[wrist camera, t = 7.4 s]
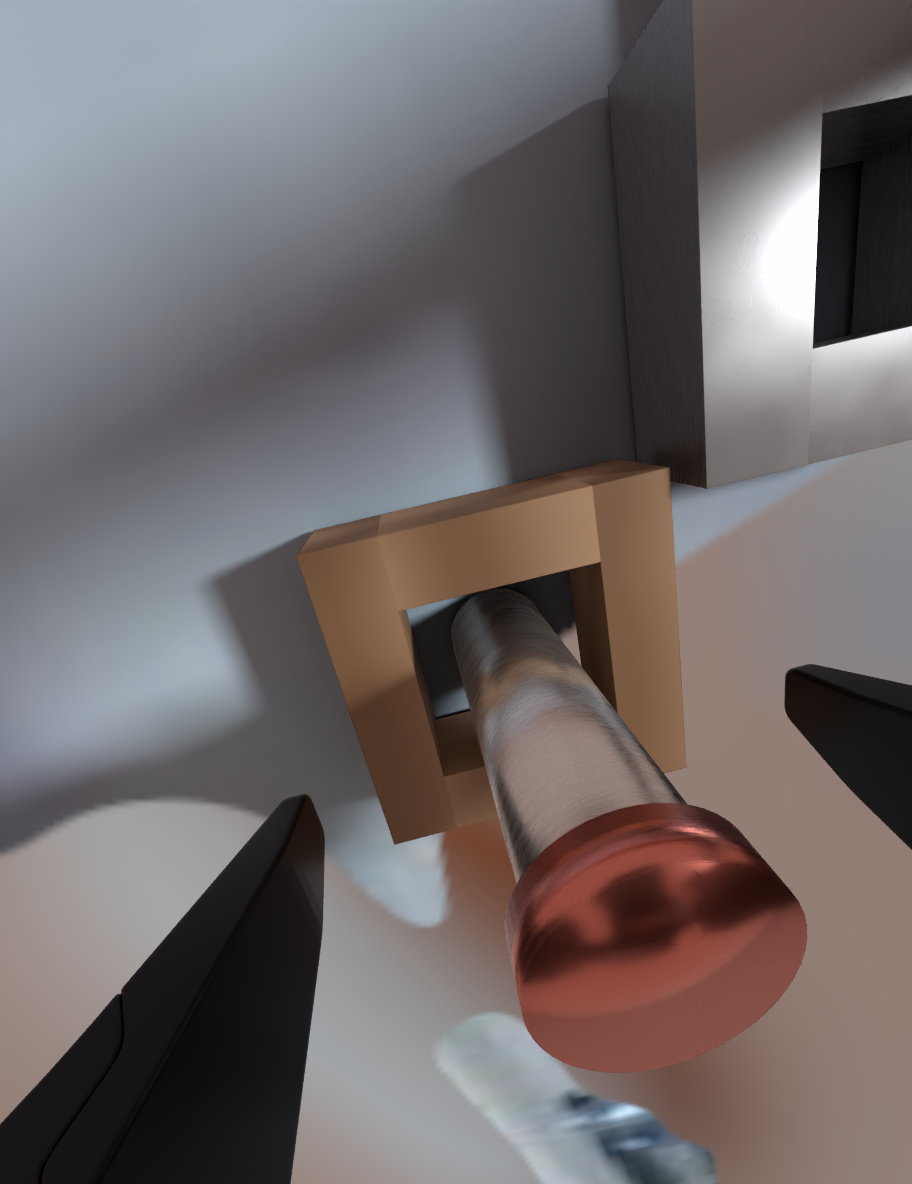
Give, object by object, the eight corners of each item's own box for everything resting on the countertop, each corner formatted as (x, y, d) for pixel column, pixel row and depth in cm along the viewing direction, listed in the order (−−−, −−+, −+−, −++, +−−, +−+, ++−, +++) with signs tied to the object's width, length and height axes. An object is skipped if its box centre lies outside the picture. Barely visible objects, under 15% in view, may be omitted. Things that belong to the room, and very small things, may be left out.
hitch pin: (542, 566, 13) (813, 827, 5) (558, 666, 14) (800, 1026, 6) (429, 593, 13) (496, 914, 5) (453, 693, 14) (545, 1101, 6)
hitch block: (1010, -359, 9) (1308, -734, 6) (921, 406, 13) (1065, 402, 10) (578, -287, 8) (672, -646, 6) (638, 473, 13) (706, 488, 10)
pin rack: (618, 459, 13) (669, 467, 10) (641, 714, 15) (686, 767, 13) (314, 530, 12) (296, 555, 10) (394, 778, 15) (394, 844, 13)
